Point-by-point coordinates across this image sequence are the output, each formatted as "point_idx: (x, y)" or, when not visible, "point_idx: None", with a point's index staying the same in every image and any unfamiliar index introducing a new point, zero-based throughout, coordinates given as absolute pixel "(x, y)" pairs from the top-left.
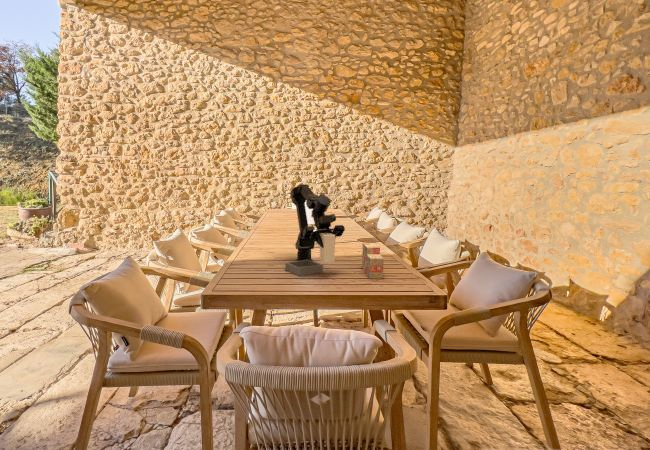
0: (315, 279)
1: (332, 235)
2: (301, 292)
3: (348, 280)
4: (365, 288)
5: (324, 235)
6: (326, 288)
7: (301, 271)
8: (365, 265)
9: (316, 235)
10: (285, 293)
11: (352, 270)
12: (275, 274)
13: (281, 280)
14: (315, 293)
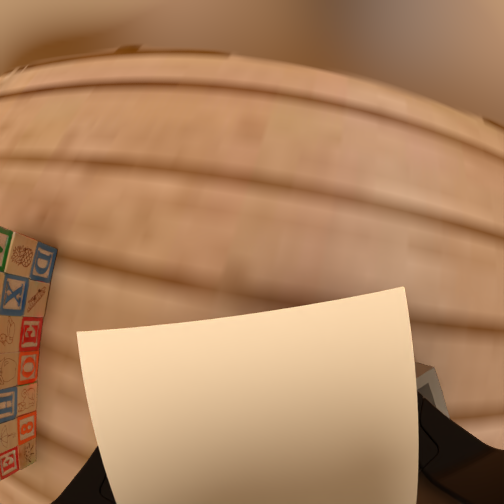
0: (343, 288)
1: (149, 328)
2: (415, 115)
3: (161, 236)
4: (139, 112)
5: (397, 323)
6: (311, 131)
7: (417, 369)
8: (16, 375)
9: (496, 451)
10: (464, 124)
11: (86, 420)
12: (499, 396)
13: (491, 294)
14: (364, 91)
